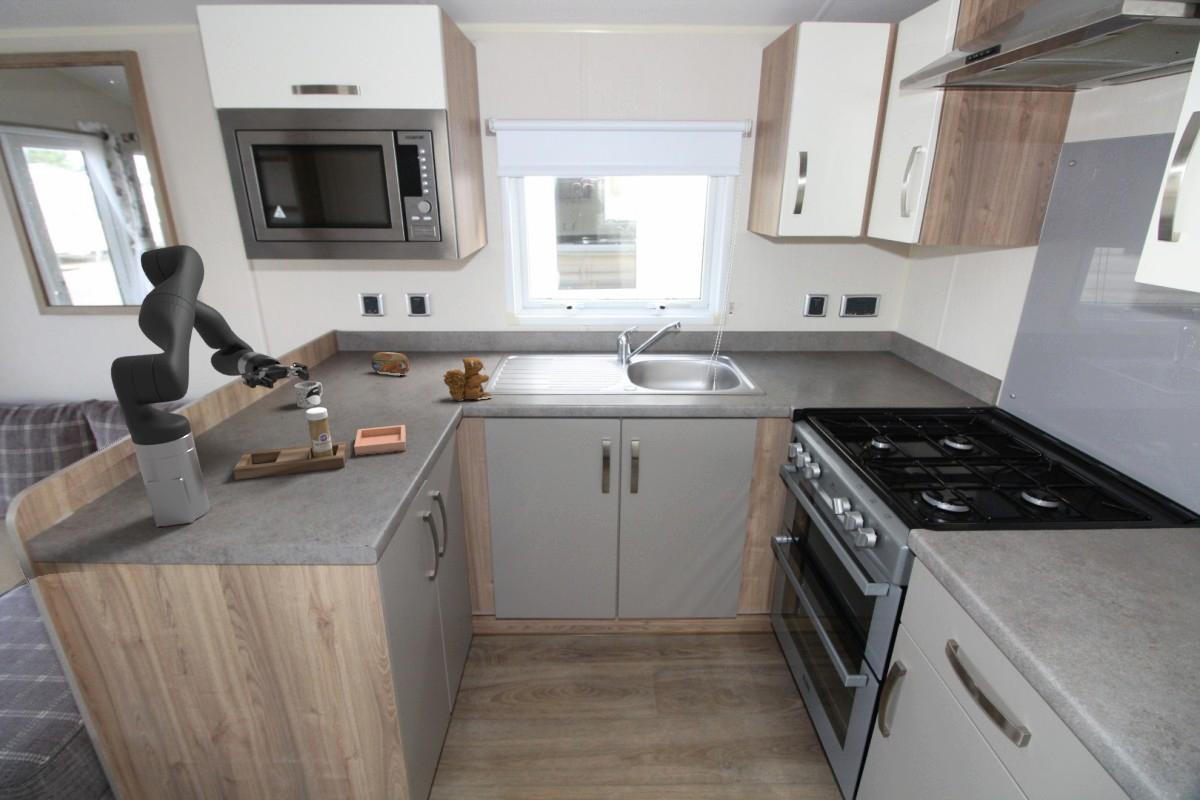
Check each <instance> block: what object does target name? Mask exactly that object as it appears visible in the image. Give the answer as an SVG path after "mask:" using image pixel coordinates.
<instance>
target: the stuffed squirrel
mask: <svg viewBox="0 0 1200 800" xmlns="http://www.w3.org/2000/svg"><path fill="white" fill-rule="evenodd" d="M462 362H463V367H464V372H463V371H462V370H461V369H456V368H455V369H453V370H450V369H449V370H448V371H446V372H445V374H442V377H443V378H444V379H443V383H444V384H445V385H446V386H447V387H448V389H449V392H448V393H449V394H450V396H451V398H453V399H454V400H455V401H457V400H462V399H465V400H468V399H478V398H482V397H486V396H491V395H492V394H491V393H490V392H484V388H483V387H484V386H483V384H484V383H487V382H489V380H490V376H489V375H488V374H480V373H479V372H481V371H482V369H484V371H485V370H486V368H485V366H484V365H483V361H482V360H480V359H479V358H477V357H467V358H465V357H462Z"/></svg>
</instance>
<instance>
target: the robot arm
mask: <svg viewBox="0 0 1200 800" xmlns="http://www.w3.org/2000/svg"><path fill="white" fill-rule="evenodd" d="M140 264H141V265H140V266H141V268H142V271H143V273H144V275H145V277H146V278H147V280H148V281H149V282H150V284H151V285H152V286H153V287H154V288H153V289H152V290H150V291H149V292H148V294H146V295H145V297H144V298H143V300H142V303H141V306H140V310H139V313H138V318H137V319H138V320H137V321H138V327H139V328H140V331H141V332H142V333H143V335H144V336H145V337H146V338H147V339H148V340H149V341H151V342H152V343H153V344H154V345H155V346H156V347H158V348H160V350H162V351H163V352H160V353H151V354H150V353H149V354H138V355H126V356H120V357H119V356H118V357H117V358H115V359H114V360H113V361H112V363H111V366H110V378H111V379H110V380H111V383H112V386H113V389H114V393H115V395H116V399H117V400H118V403H119V406H120V408H121V412H122V415H123V417H124V421H125V425H126V427H127V430H128V432H129V434H130V438H131V441H132V445H133V448H134V451H135V456H136V459H137V463H138V465H139V469H140V473H141V474H140V475H141V476H142V477H141V478H142V480H143V484H144V487H145V491H146V494H147V497H148V502H149V505H150V508H151V512H152V516H153V519H154V523H155V525H156V526H155V527H156V528H159V526H162V527H168V526H175V525H184V524H190V523H191V524H192V523H194V522H195V521H196V519H199V518H201V517H203V516H204V515H206V514H207V513H208V512H209V511H210V508H211V506H210V502H209V501H210V500H209V498H208V493H207V489H206V485H205V481H204V477H203V471H202V469H201V465H200V461H199V456H198V452H197V449H196V444H195V439H194V435H193V431H192V427H191V423H190V420H189V419H188V417H186V416H184V415H182V414H179V413H175V412H174V413H173V412H168V411H163V410H161V409H158V408H155V407H153V406H152V404H162V403H170V402H176V401H178V400H182V399H184V397H185V396H186V395H187V392H188V389H189V381H190V346H191V340H192V335H193V331H194V329H195V331H196V332H197V333H198V335H199V337H200V338H201V339H202V340H203V342H204V343H205V344H206V345H207V346H208V347H209V348H210V349H212V350H217V351H215V352H214V353H213V354H212V355H211V357H210V364H211V366H212V367H213V369H214V370H216V372H218V373H220V374H221V375H224V376H227V377H228V376H229V377H236V376H241V379H242V385H243V384H244V385H245V386H247V387H248V388H251V389H255V388H257V386H259V387H260V388H265V389H266V388H267V389H269V390H271V389H274V388H275V387H274V384H275V383H277V382H279V381H283V380H288V381H289V380H290V381H291V380H293V379H300V380H303V381H304V382H307V381H309V379H310V373H309V368H308V367H309V366H308V365H305V364H304V363H300V362H297V361H295V362H292V365H283V364H282V363H281V362H280V361H279V360H278V359H276V358H274V357H272V356H269V355H267V354H264V353H260V352H255V351H254V349H253V348H252V346H251V345H249V344H248V343H247V342H245V341H244V340H243V339H241V338H240V336H238V335H237V334H236V333H235V332H234V331H233V330H232V328H231V327H230V325H229V323H228V322H227V321H226V319H225V318H224V316H223V315H222V314H221V313H220V312H219V311H218V310H216V309H215V308H214V307H212V306H210V305H209V304H207V303H205V302H202V300H198V297H199V296H198V295H199V292H200V290H201V288H202V285H203V282H204V279H205V278H204V277H205V267H204V262H203V259H202V257H201V255H200V253H199V252H198V251H197V250H196V249H195V248H193V247H192V246H190V245H186V244H177V245H172V246H171V245H170V246H165V247H161V248H160V247H159V248H155V249H149V250H146V251H144V252H142V254H141V255H140Z"/></svg>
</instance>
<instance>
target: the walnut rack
mask: <svg viewBox="0 0 1200 800" xmlns="http://www.w3.org/2000/svg"><path fill="white" fill-rule="evenodd" d="M331 443H332V442H331ZM332 452H333V456H328V457H319V458H314V455H313V451H312V445H311V444H309V445H302V446H293V447H292V446H291V447H282V448H273V449H272V448H271V449H263V450H252V451H245V452H244V453H243V454H242V455H241V457H240V459H239V461H238V462H237V463H236V464H235V466H234V467H233V475H234V478H235V479H234V480H243V479H244V480H245V479H251V478H253V479H254V478H261V477H271V476H278V475H279V476H280V475H287V474H295V473H297V474H298V473H304V472H313V471H323V470H332V469H333V470H334V469H341V467H342V468H345V467H346V463H347V458H348V454H349V444H348V441H339V442H333V443H332ZM335 454H336V455H335ZM345 462H346V463H345Z"/></svg>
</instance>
